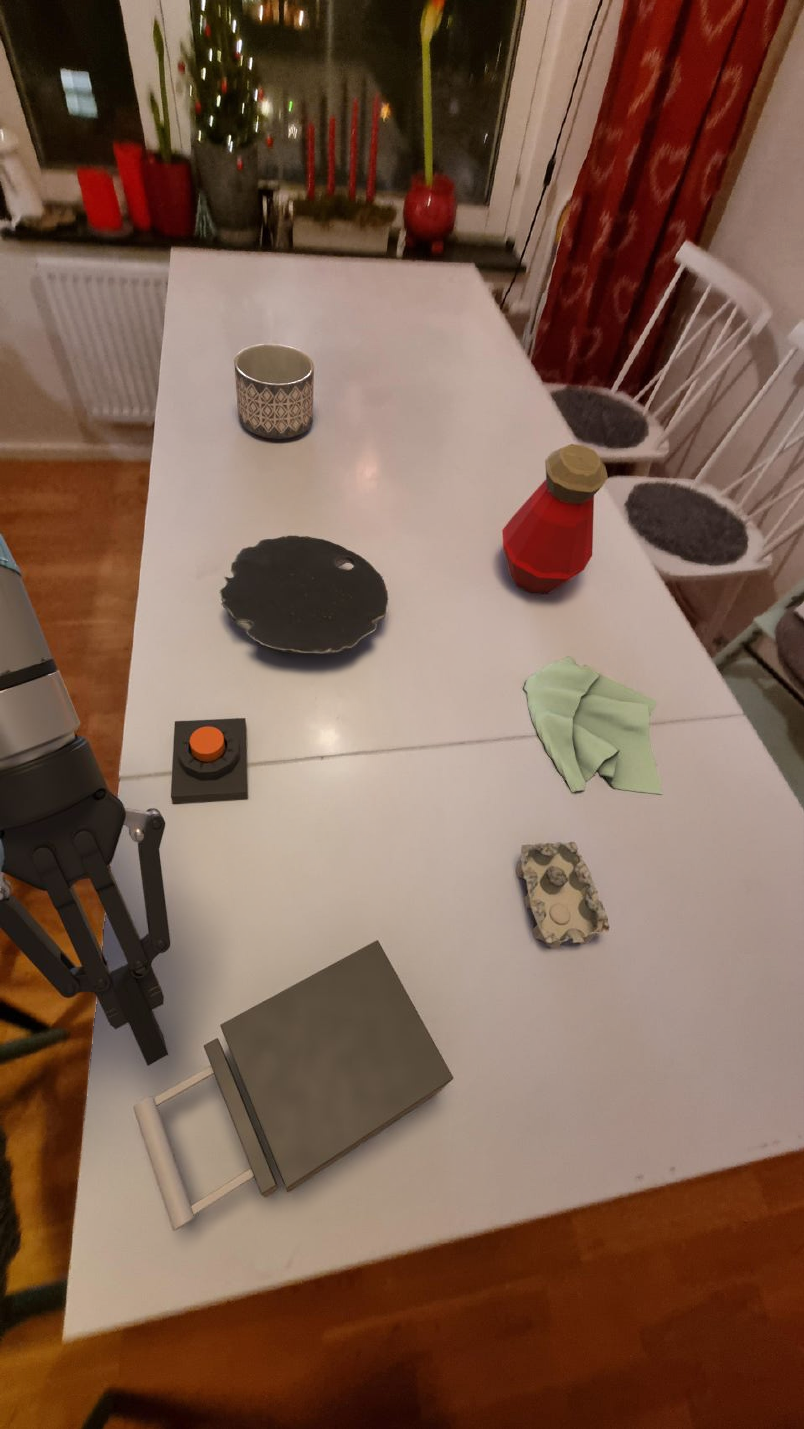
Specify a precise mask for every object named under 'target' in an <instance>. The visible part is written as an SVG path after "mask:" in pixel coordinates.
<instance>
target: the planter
mask: <svg viewBox="0 0 804 1429" xmlns="http://www.w3.org/2000/svg"><path fill="white" fill-rule="evenodd" d="M233 364H234V379H235V389H236V390H235V392H236V403H237V404H236V405H237V417H238V419H239V422H240V424H241V425H242V427H243V428H244V429H246V430H247V431H248V432H250V433H252V434H254V435H257V436H260V437H263V438H267V439H274V440H275V439H276V440H277V439H279V440H280V439H281V440H283V439H289V438H295V437H298V436H300V435H302V434H304V433H306V432H307V431H308V430H309V429H310V428H311V426H312V424H313V421H314V384H315V383H314V376H315V375H314V374H315V365H314V362H313V359H311V357H309V356H308V354H306V353H304V352H303V351H301V350H299V349H298V348H294V347H291V346H288V345H285V344H277V343H262V344H261V343H260V344H255V345H252V346H249V347H245V348H243V349H242V350H241V351H239V352H237V354H236V356H235V357H234V361H233Z"/></svg>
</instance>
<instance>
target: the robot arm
mask: <svg viewBox="0 0 804 1429" xmlns="http://www.w3.org/2000/svg"><path fill="white" fill-rule="evenodd" d="M22 577H23V575H22V572H21V569H20V567H19V566H18V565H17V563H16V560H15V559H14V557H13V555H12V553H11V551H10V548H9V546H8V545H7V542H6V540H5V538H4V536H3V534H2V533H1V532H0V929H1V930H2V931H3V932H4V934H5V935H6V936H7V937H8V938H9V939H10V940H11V941H12V943H13V944H14V945H16V947H17V948H18V949H19V950H20V951H21V952H22V953H23V954H24V956H25V957H26V958H27V959H28V960H29V961H30V962H31V963H32V964H33V966H35V968H36V969H37V970H38V971H39V972H40V974H42V975H43V976H44V978H45V979H46V980H47V981H48V982H49V983H50V984H51V985H52V987H53V988H54V989H55V990H56V991H57V992H58V993H59V994H60V996H62V997H63V998H66V999H70V998H74V997H76V996H77V995H78V994H80V993H86V992H88V993H92V994H94V995H95V996H96V998H97V999H98V1002H99V1004H100V1006H101V1009H102V1011H103V1013H104V1016H105V1017H106V1019H107V1022H108V1024H109V1025H110V1026H111V1027H112V1028H113V1029H115V1030H117V1029H119V1028H121V1027H122V1026H125V1025H126V1024H127V1025H129V1027H130V1030H131V1032H132V1034H133V1036H134V1039H135V1041H136V1043H137V1045H138V1048H139V1049H140V1052H141V1054H142V1056H143V1058H144V1061H145V1063H146V1065H147V1067H149V1066H150V1065H153V1064H155V1063H156V1062H158V1061H160V1060H162V1059H163V1058H165V1057H168V1056H169V1051H168V1047H167V1044H166V1040H165V1036H164V1033H163V1032H162V1029H161V1026H160V1024H159V1022H158V1019H157V1017H156V1015H155V1012H154V1010H155V1009H157V1008H158V1007H161V1006H163V1005H164V1001H165V996H164V992H163V989H162V986H161V984H160V982H159V979H158V977H157V975H156V972H155V970H154V967H153V965H152V964H153V961H154V960H155V959H156V957H158V956H159V955H160V954H163V953H165V952H167V951H168V950H169V949H170V947H171V937H170V928H169V920H168V912H167V902H166V895H165V886H164V879H163V871H162V862H161V853H160V849H161V848H160V847H161V844H162V840H163V835H164V832H165V828H166V821H165V818H164V817H163V815H162V813H161V811H160V810H159V809H157V808H155V807H152V808H148V809H146V810H141V809H136V808H135V809H134V808H128V807H125V805H124V803H123V802H122V800H121V799H120V798H118V797H117V796H116V795H115V794H113V793H112V792H111V790H110V789H109V787H108V785H107V782H106V780H105V777H104V774H103V772H102V770H101V768H100V765H99V763H98V761H97V759H96V756H95V753H94V751H93V749H92V747H91V744H90V742H89V739H88V738H86V737H84V736H83V735H81V734H80V735H79V734H77V733H75V732H76V731H77V730H78V729H79V728H80V726H81V724H82V723H81V721H80V718H79V716H78V713H77V711H76V709H75V706H74V704H73V701H72V698H71V696H70V694H69V691H68V689H67V686H66V684H65V681H64V679H63V676H62V673H61V671H60V669H58V667H57V664H56V662H55V659H54V658H53V655H52V652H51V651H50V648H49V645H48V643H47V640H46V638H45V635H44V632H43V630H42V627H41V625H40V622H39V620H38V617H37V615H36V612H35V609H34V606H33V605H32V602H31V599H30V596H29V594H28V591H27V590H26V586H25V584H24V581H23V579H22ZM124 826H125V827H127V829H128V835H129V837H130V839H131V840H132V841H133V842H134V843H137V853H138V861H139V870H140V876H141V884H142V891H143V892H142V893H143V901H144V908H145V917H146V924H147V933H146V934H145V935H144V936H143V937H141V936H140V933H139V932H138V929H137V927H136V925H135V922H134V920H133V918H132V916H131V913H130V911H129V908H128V906H127V904H126V902H125V899H124V897H123V895H122V892H121V889H120V888H119V885H118V883H117V880H116V878H115V876H114V874H113V871H112V868H111V866H110V865H111V863H112V861H113V860H114V857H115V853H116V851H117V847H118V844H119V840H120V837H121V833H122V830H123V827H124ZM5 875H8V876H9V877H11V878H14V879H15V880H18V881H20V882H22V883H24V884H26V885H29V886H31V887H32V888H34V889H37V890H39V891H43V892H46V893H47V895H48V897H49V899H50V901H51V904H52V906H53V907H54V909H55V910H56V912H57V914H58V916H59V918H60V921H61V923H62V925H63V927H64V930H65V932H66V935H67V936H68V939H69V941H70V943H71V945H72V947H73V950H74V951H75V954H76V956H77V958H78V960H79V962H80V965H81V966H77V965H76V964H75V963H74V962H73V961H72V959H71V958H70V957H69V956H68V955H67V954H66V952H64V951H63V949H62V948H61V947H60V946H59V945H58V944H57V943H56V942H55V941H54V940H55V939H53V938H52V937H51V936H50V935H49V933H47V932H48V931H46V930H45V929H44V928H43V927H42V926H41V925H40V923H39V922H38V921H37V920H36V919H35V918H34V917H33V915H32V914H31V913H30V912H29V910H28V909H26V907H25V905H23V904H22V903H21V902H20V900H19V899H18V898H17V897H15V896H14V895H13V894H12V893H11V892H12V890H11V889H12V884H11V882H10V881H9V880H8V879H7V878H6V876H5ZM86 879H87V880H88V879H89V880H90V882H91V884H92V886H93V889H94V891H95V892H96V895H97V897H98V899H99V901H100V903H101V906H102V908H103V910H104V912H105V914H106V917H107V919H108V921H109V924H110V926H111V928H112V931H113V932H114V935H115V937H116V940H117V941H118V944H119V947H120V949H121V951H122V953H123V955H124V958H125V960H126V962H127V963H126V964H124V965H121V966H119V967H117V968H116V969H113V970H112V971H111V970H110V968H109V961H108V960H107V959H106V957H105V955H104V952H103V949H102V948H101V945H100V943H99V941H98V939H97V936H96V934H95V932H94V930H93V927H92V925H91V923H90V921H89V918H88V915H87V914H86V911H85V910H84V908H83V905H82V902H81V900H80V897H79V896H78V893H77V891H76V889H75V885H74V884H76V883H77V882H78V881H81V880H86Z"/></svg>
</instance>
